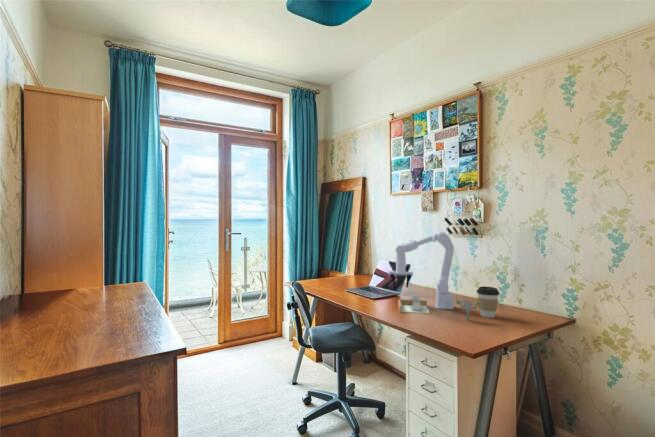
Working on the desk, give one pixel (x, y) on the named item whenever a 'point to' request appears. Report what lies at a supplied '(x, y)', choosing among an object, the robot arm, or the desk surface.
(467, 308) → the mechanical component
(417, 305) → the bracket
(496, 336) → the desk surface
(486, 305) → the coffee cup
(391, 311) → the desk surface
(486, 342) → the desk surface
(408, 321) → the desk surface
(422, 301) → the corner arena
